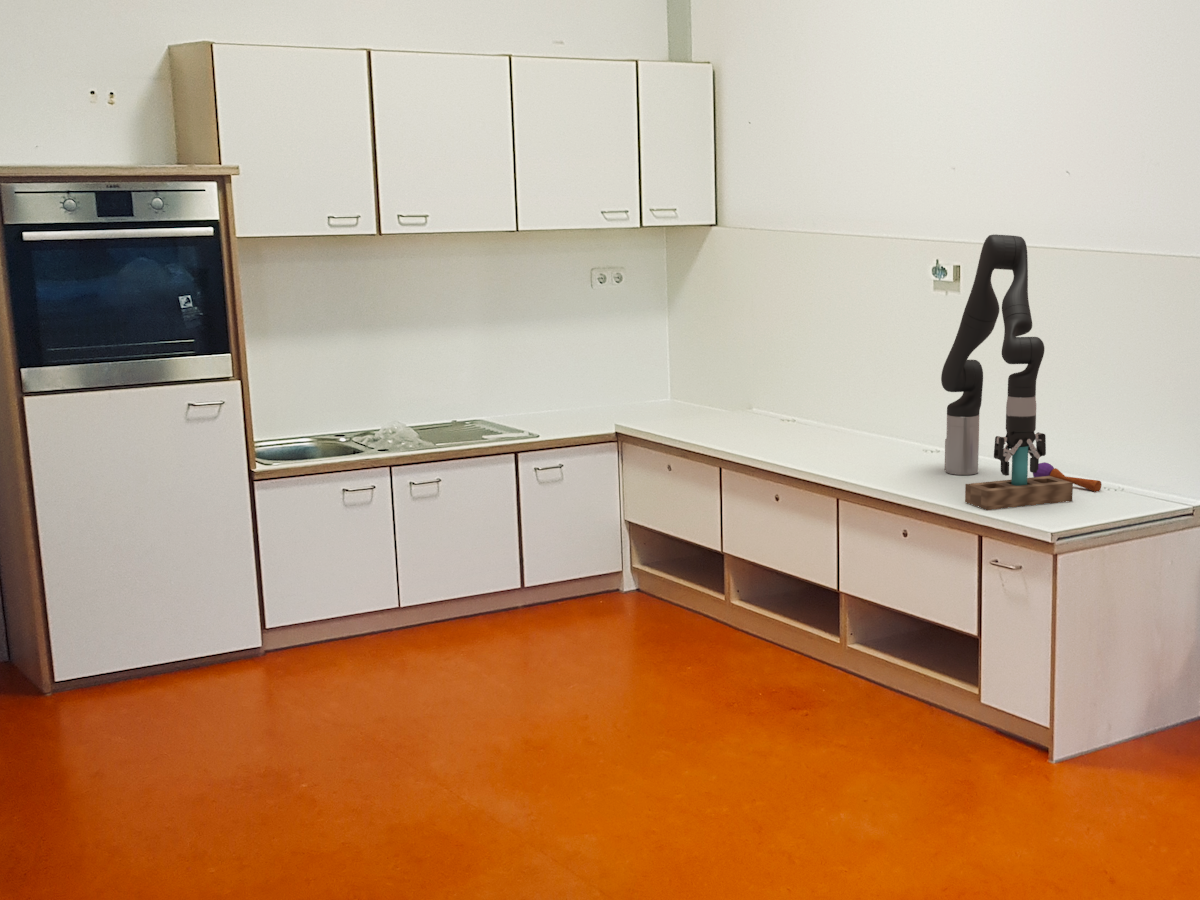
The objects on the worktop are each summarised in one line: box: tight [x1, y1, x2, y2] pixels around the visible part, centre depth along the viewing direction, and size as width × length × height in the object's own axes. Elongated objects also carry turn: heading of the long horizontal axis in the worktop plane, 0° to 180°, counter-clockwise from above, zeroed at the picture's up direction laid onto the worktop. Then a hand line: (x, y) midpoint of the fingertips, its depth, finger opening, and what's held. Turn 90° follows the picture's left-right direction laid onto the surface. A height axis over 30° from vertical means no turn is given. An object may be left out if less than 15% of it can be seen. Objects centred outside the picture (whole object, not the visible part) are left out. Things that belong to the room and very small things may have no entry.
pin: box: [1010, 446, 1029, 486], centre depth 353 cm, size 4×4×14 cm
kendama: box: [1032, 462, 1102, 493], centre depth 371 cm, size 6×6×20 cm
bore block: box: [964, 476, 1074, 511], centre depth 354 cm, size 26×10×5 cm, turn 107°
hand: (1019, 473), depth 353 cm, fingers open, 8 cm apart
